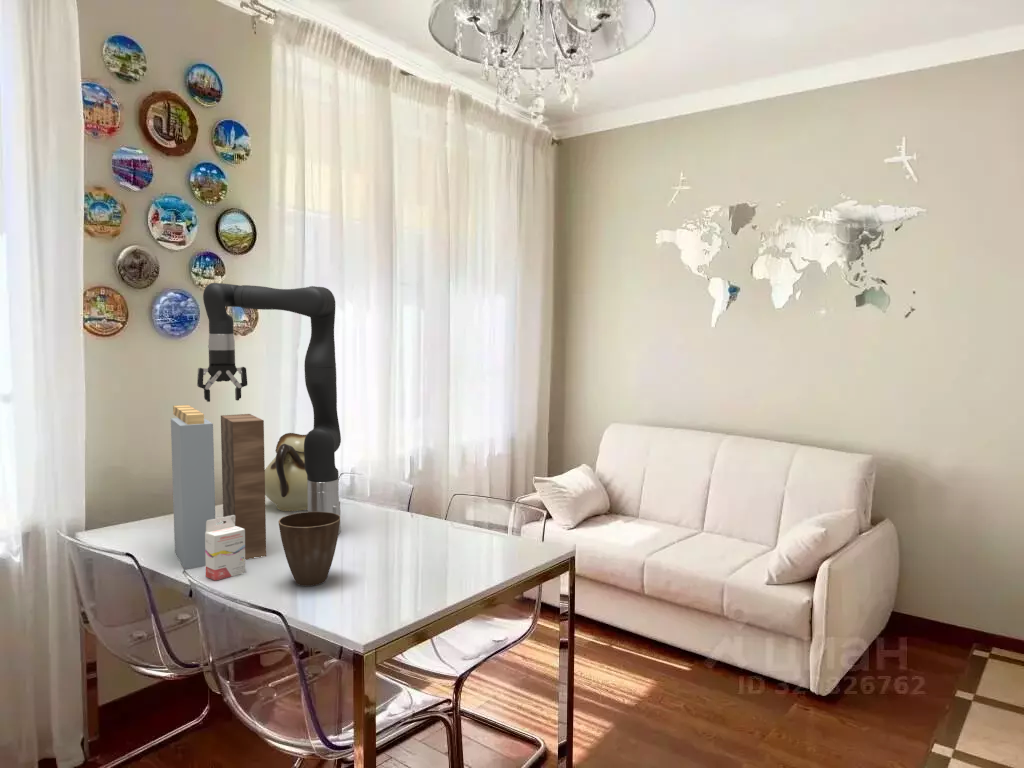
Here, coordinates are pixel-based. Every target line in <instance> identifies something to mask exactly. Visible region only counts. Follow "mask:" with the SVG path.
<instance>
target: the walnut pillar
mask: <svg viewBox="0 0 1024 768" xmlns="http://www.w3.org/2000/svg"><path fill="white" fill-rule="evenodd" d="M264 424H265V422H264V419H261V418H260V417H257V416H255V415H252V413H244V414H243V413H239V414H227V415H226V414H225V415H224V414H223V415H222V414H221V415H220V440H221V441H220V443H221V445H220V449H221V483H222V484H221V485H222V489H221V491H222V517H226V516H231V515H235V526H237V527H240V528H243V529H245V559H246V560H250V559H249V558H252V559H255V558H254V557H259V558H262V557H261V556H265V557H267V525H266V523H267V522H266V520H267V518H266V514H267V513H266V495H265V469H266V468H265V425H264ZM224 523H226V521H222V524H224Z"/></svg>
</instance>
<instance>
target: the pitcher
mask: <svg viewBox="0 0 1024 768" xmlns="http://www.w3.org/2000/svg"><path fill="white" fill-rule="evenodd" d="M307 434H308V433H306V434H299V433H294V432H287V433H285V434H283V435H281V436H280V437H279V439H278V441H277V444H276V446H275V447H276V448H275V453H276V455H275V457H274V458H273V459H272V461H270V463H269V464H268V465H266V466H267V467H266V468H265V497H267V498H268V500H269V501H271V503H273V504H274V505H276V509H277V510H279V511H283V512H301V511H306V510H307V511H308V493H307V473H306V471H305V461H304V440H305V437H306V435H307Z"/></svg>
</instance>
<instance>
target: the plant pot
mask: <svg viewBox="0 0 1024 768" xmlns="http://www.w3.org/2000/svg"><path fill="white" fill-rule="evenodd" d="M340 521H341V515H340V516H339V515H337V514H334V513H329V512H308V511H304V512H296V513H291V514H288V515H285V516H283V517H281V518H279V520H278V528H279V533H280V539H281V544H282V548H283V551H284V555H285V558H286V561H287V564H288V567H289V569H290V572H291V575H292V577H293V580H294V582H295V583H296V585H297V586H302V587H313V586H318V585H321V584H324V583H325V582H326V580H327V578H328V575H329V574H330V570H331V567H332V563H333V560H334V556H335V553H336V552H335V551H336V548H337V543H338V538H339V535H338V532H339V525H340Z"/></svg>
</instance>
